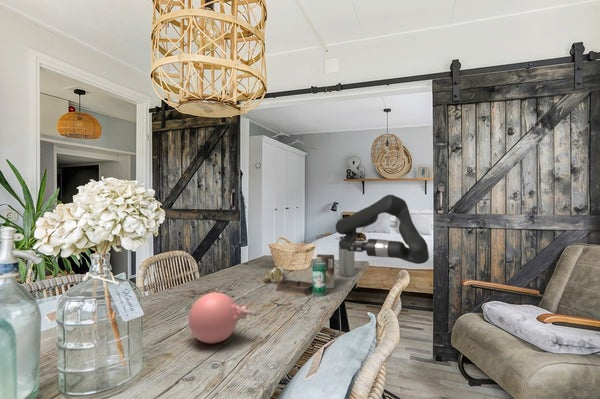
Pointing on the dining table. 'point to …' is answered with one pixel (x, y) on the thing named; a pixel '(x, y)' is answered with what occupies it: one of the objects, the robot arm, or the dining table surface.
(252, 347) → the dining table surface
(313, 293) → the can
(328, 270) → the coffee box
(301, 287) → the brown open tray
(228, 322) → the balloon
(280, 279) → the ceramic sculpture
